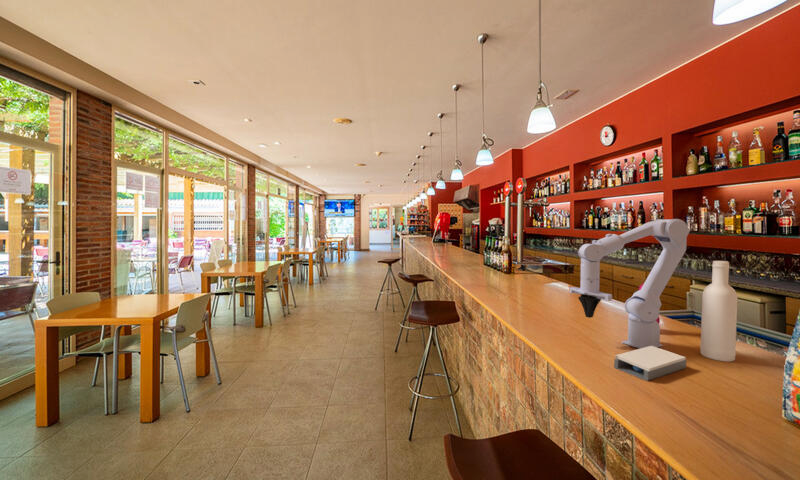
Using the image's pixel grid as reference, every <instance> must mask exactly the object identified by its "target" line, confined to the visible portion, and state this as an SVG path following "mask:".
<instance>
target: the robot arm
mask: <svg viewBox="0 0 800 480" xmlns="http://www.w3.org/2000/svg"><path fill="white" fill-rule="evenodd" d="M689 233H690V229H689V226H688V225H687V223H686V221H684V220H682V219H679V218H672V219H667V218H665V219H662V218H658V219H655V220H653V221H652V220H651V221H648V222H646V223H643V224H641V225H639V226H637V227H635V228H633V229H631V230H628V231H626V232H624V233H622V234H620V235H619V234H615V233H607V234H605V237H602V238H599V239H598V240H597V239H596V240H595V239H593V240H591V243H585V244H584V243H583V244H581V246H579V250H578V251H577V255H578V256H579V258H580V287H576V286H575V287H574V286H571V287H569V293H570V294H576V295H579V296H578V300H579V301H580V304H581V306H582V308H583V312H584V315H585V318H588V319H590V318H594V314H595V312H596V309H597V307H598V305H599V303H600V302H601V301H602V300H604V301H605V302H610V301H613V294H612V293H611V294H610V293H606V292H604V291H600V273H601V272H600V268H601V265H600V264H601V260H602V259H603V257H605V256H607V255H610V254H612V253H615V252H617V251H620V250H622V249H623V248H624V246H625V244H628V243H631V242H634V241H636V240H639V239H643V238H645V237H648V236H652V237H654V238H655V239H656V241H658V242H659V243H660V245H661V247H662V251H661V253H660V254H659V257H657V260H656V262H655V263H654V265H653V267H652V269H651V271H650V272H649V274H648V276H647V278H646V279H645V281H644V283H643V284H644V285H643V286H642V288H641V290H639V289H638V290H636V291H635V292H633V294H632V296H631V297H629V298H628V299H626V301H625V302H624V309H625V312H627V314H628V318H627V321H628V322H627V323H628V324H627V339H626V340H621V343H622V344H625V345H627V346H630V347H631V346H632V347H634V348H637V349H641V348H644V347H648V346H654V347H657V348H660V347H663V344H662V343H660V342H661V341H660V340H661V326H660V323H659V324H658V322H657V321H656V319H657V318H658V317H659V318H660V311H661V310H660V309H661V306H662V305H663V304H662V301H661V299H660V297H661V295H662V294H663V291H664V290H665V288H666V286H667V285H668V282H669V281H670V279H671V277H672V275H673V274H674V272H675V270H676V269H677V267H678V265H679V263H680V262H681V260H682V258H683V256H684V255H685V253H686V251H687V241H688V239H687V237H688V235H689Z"/></svg>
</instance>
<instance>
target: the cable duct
mask: <svg viewBox="0 0 800 480" xmlns="http://www.w3.org/2000/svg"><path fill="white" fill-rule="evenodd" d="M613 364H614V366H613V367H614V369H616V370H618V371H622V372H624V373H626V374H628V375H631V376H634V377H636V378H639V379H640V380H643V381H646V382H649V381H653V380H656V379H658V378H662V377H664V376H667V375H670V374H673V373H676V372H679V371H683V370H685V369H687V358H686V359H685V360H683V361H680V362H677V363H674V364H671V365H668V366H665V367H661V368H658V369H655V370H652V371H647V370H642V371H635V370H634V369H633V365H632V364H629V363H627V362H625V361H622V360H620V359H617V358H614V363H613Z"/></svg>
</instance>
